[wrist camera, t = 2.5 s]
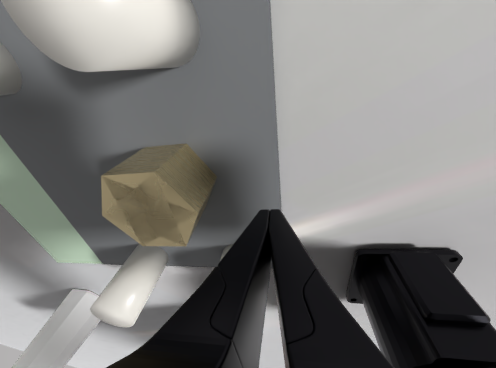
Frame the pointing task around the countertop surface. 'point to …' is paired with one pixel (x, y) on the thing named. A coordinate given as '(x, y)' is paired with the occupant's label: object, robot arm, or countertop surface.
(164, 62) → the cylinder
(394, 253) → the robot arm
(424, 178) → the countertop surface
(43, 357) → the pepper shaker
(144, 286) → the cylinder
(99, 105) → the mat
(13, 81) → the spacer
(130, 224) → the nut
